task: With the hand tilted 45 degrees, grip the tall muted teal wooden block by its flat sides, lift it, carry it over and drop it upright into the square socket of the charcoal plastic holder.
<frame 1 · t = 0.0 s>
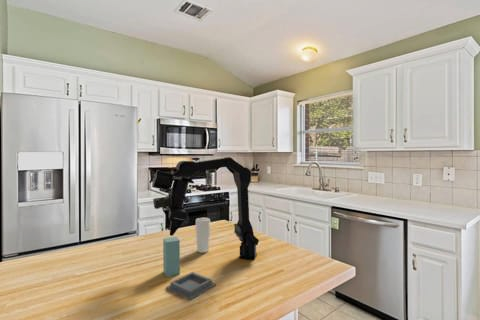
hand: (168, 232, 104), 15 cm above the worktop, tool pointing down, fingers open, 9 cm apart
teal block: (171, 272, 103), on the worktop
socket holder: (191, 287, 92), on the worktop
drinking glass: (203, 251, 126), on the worktop
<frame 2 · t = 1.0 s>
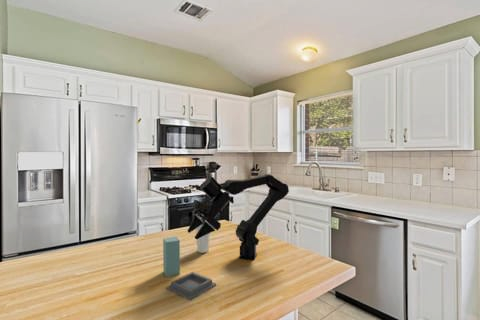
hand: (191, 235, 107), 13 cm above the worktop, tool tilted 45°, fingers open, 9 cm apart
nothing on the worktop moved.
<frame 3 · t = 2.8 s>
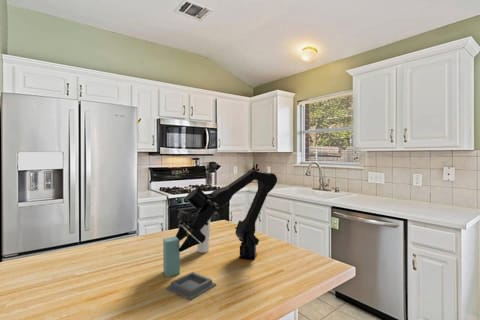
hand: (176, 247, 104), 10 cm above the worktop, tool tilted 45°, fingers open, 9 cm apart
nothing on the worktop moved.
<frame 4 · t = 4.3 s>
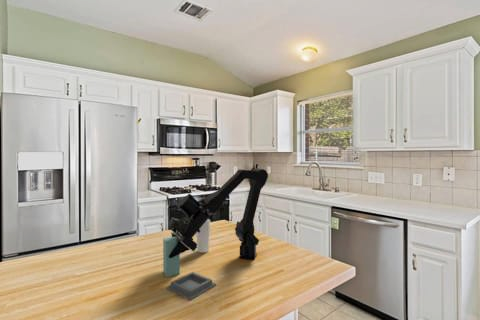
hand: (167, 255, 102), 7 cm above the worktop, tool tilted 45°, fingers closed on teal block, 5 cm apart
teal block: (171, 272, 103), on the worktop, touching gripper
everything else where it was.
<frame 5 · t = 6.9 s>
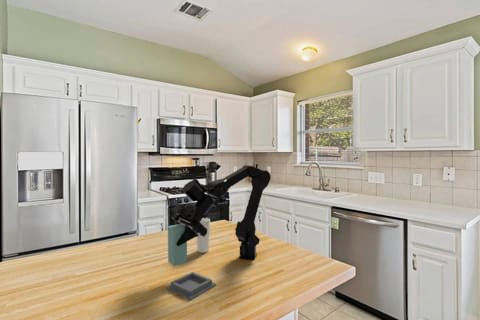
hand: (173, 243, 97), 13 cm above the worktop, tool tilted 45°, fingers closed on teal block, 5 cm apart
teal block: (177, 261, 98), point 6 cm above the worktop, touching gripper
everything else where it was.
when the fingers open (9 cm above the worktop, at t = 9.6 s): teal block drops 2 cm, resting on socket holder.
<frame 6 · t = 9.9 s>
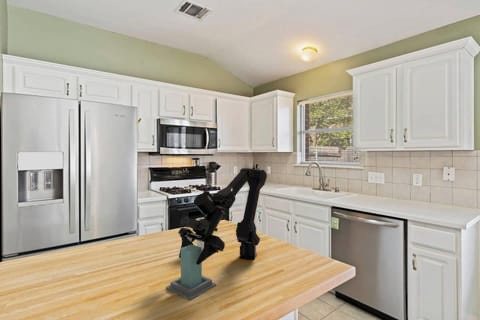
hand: (188, 260, 91), 10 cm above the worktop, tool tilted 45°, fingers open, 8 cm apart
teal block: (191, 285, 92), point 1 cm above the worktop, touching socket holder
everything else where it was.
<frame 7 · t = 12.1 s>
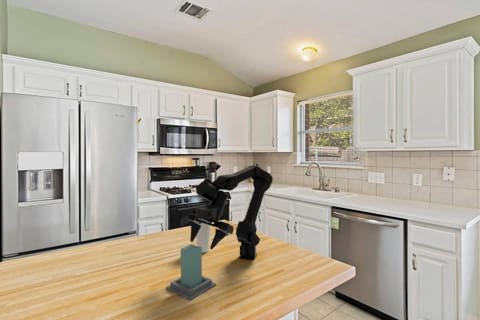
hand: (200, 245, 98), 12 cm above the worktop, tool tilted 30°, fingers open, 9 cm apart
nothing on the worktop moved.
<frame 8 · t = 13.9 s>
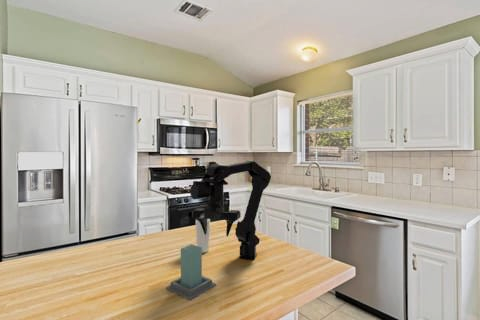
hand: (216, 235, 108), 13 cm above the worktop, tool pointing down, fingers open, 9 cm apart
nothing on the worktop moved.
at the end: teal block 0.0 cm off-centre on the socket holder, point 0.6 cm above the socket holder's base; teal block tilted 0°; the gripper is holding nothing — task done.
